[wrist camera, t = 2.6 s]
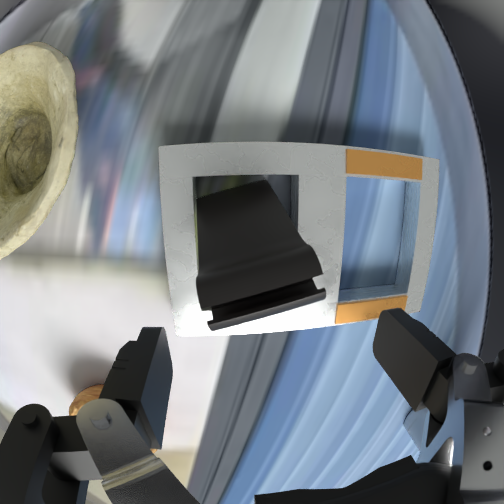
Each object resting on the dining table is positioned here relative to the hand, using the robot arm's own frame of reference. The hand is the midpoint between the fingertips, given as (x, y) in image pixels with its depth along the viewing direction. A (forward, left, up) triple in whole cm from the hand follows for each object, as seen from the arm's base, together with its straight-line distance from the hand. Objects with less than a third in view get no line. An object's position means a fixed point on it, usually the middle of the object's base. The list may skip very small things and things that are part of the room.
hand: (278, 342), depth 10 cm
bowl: (+20, -10, -16) cm, 27 cm away
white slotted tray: (-6, 0, -16) cm, 17 cm away
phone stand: (0, 0, -16) cm, 16 cm away
